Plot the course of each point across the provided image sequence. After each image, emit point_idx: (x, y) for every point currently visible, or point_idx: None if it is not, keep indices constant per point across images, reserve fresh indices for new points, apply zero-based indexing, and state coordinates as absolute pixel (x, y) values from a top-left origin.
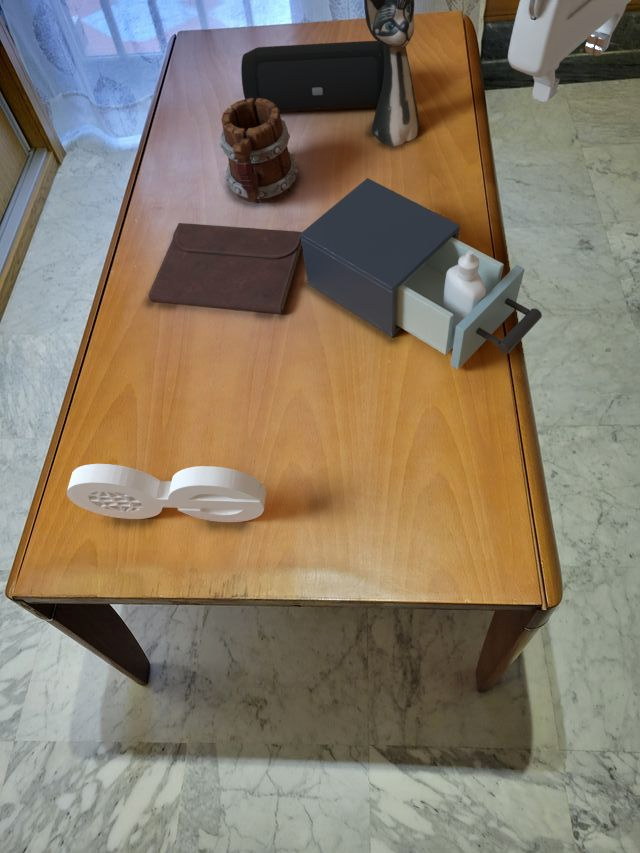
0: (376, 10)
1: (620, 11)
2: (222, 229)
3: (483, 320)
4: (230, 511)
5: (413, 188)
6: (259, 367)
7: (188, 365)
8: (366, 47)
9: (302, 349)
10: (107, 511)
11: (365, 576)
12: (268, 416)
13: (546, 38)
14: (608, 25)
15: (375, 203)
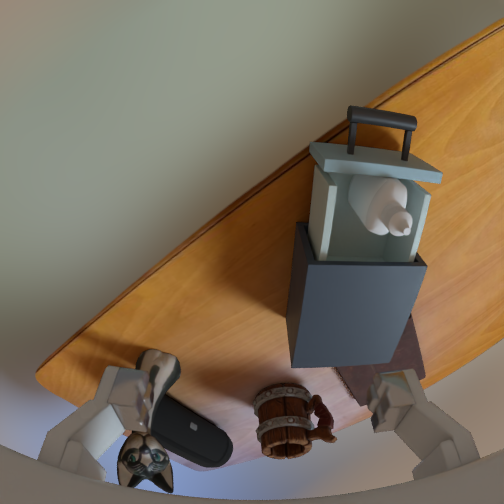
0: (161, 473)
1: (71, 447)
2: (354, 389)
3: (398, 161)
4: None
5: (208, 319)
6: (455, 289)
7: (463, 323)
8: None
9: (433, 277)
10: None
11: None
12: (488, 257)
13: None
14: (99, 424)
15: (323, 345)
